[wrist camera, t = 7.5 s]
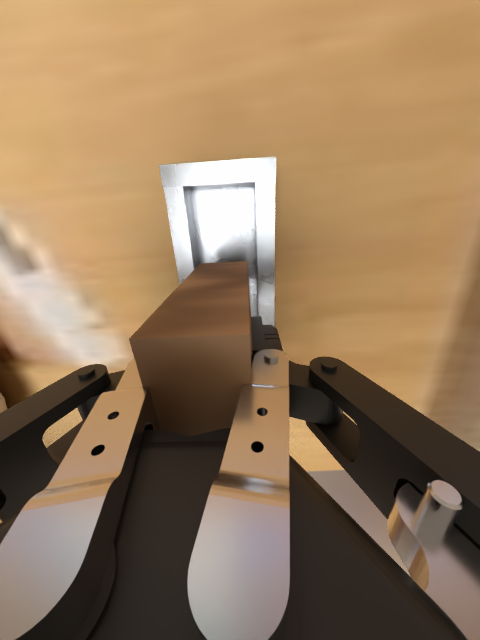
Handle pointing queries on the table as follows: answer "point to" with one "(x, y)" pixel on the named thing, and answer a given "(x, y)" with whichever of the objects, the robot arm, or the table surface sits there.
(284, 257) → the table surface
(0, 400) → the decorative shell
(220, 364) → the door panel
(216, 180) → the tray
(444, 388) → the table surface
